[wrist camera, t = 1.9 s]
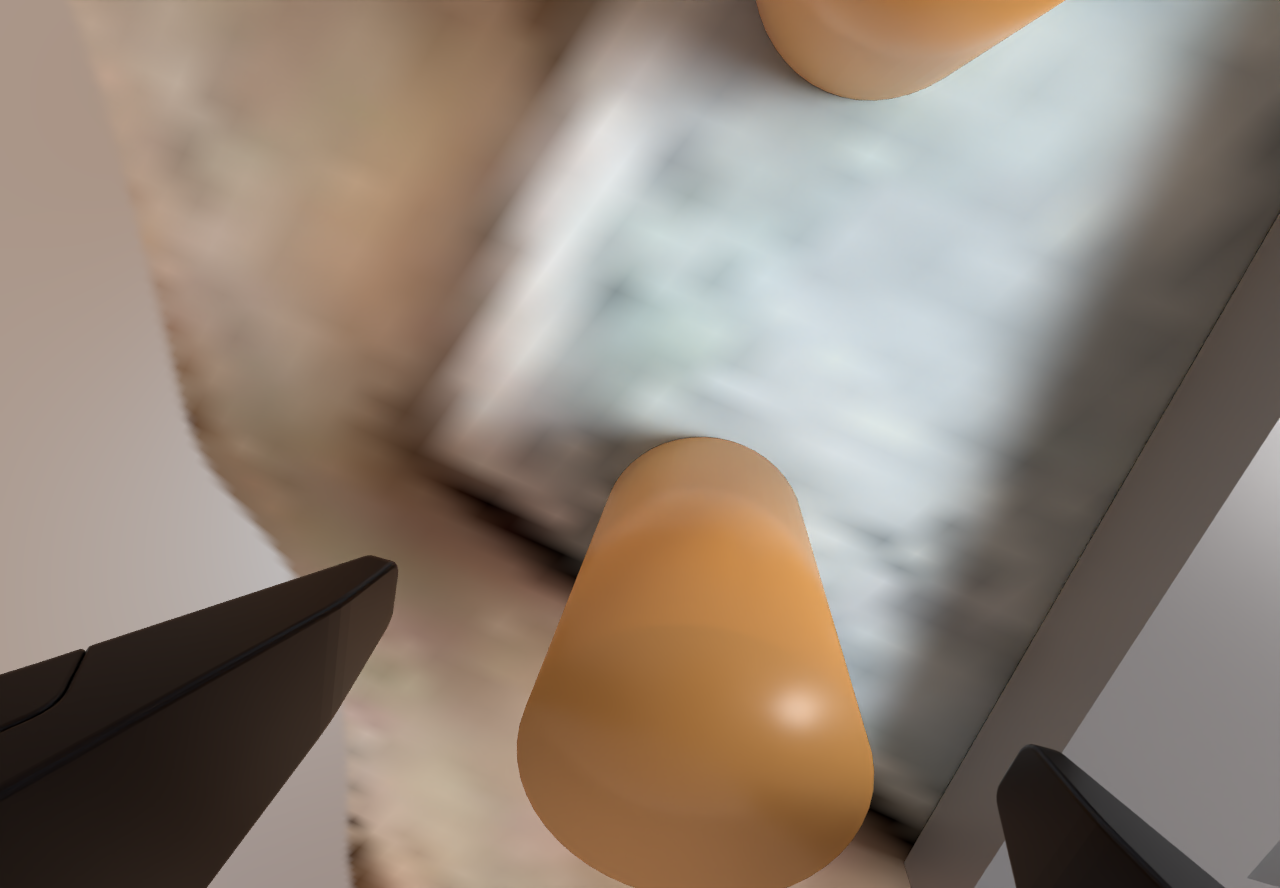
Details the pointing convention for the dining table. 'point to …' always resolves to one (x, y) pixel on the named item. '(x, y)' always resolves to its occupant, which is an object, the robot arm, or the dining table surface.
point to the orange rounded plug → (889, 39)
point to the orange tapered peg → (698, 686)
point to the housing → (1161, 633)
